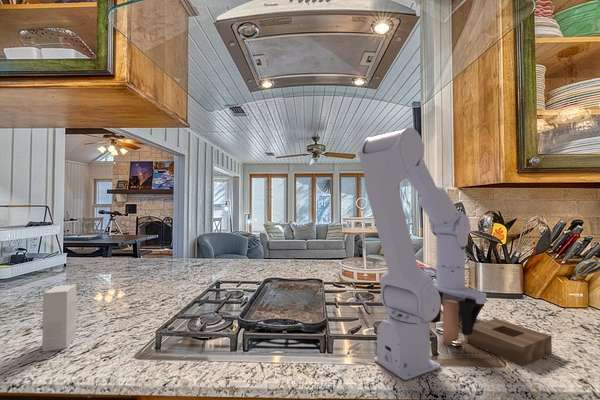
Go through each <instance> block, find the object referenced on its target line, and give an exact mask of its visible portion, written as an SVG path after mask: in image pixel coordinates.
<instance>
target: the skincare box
mask: <svg viewBox="0 0 600 400" xmlns="http://www.w3.org/2000/svg"><path fill="white" fill-rule="evenodd" d="M76 337H77V284H67V285H66V284H64V285H54V286H53V287H52V288H50V289H48V290H47V291H45V292H43V294H42V337H41V338H42V342H41V343H42V345H41V351H42V352H43V353H44V352H51V351H58V350H66V349H67V348H68V347H69V345H70V344H72V343H73V341H74V339H75V338H76Z"/></svg>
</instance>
